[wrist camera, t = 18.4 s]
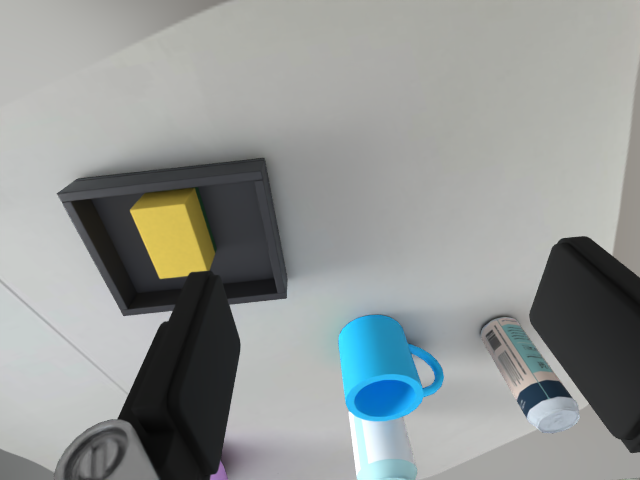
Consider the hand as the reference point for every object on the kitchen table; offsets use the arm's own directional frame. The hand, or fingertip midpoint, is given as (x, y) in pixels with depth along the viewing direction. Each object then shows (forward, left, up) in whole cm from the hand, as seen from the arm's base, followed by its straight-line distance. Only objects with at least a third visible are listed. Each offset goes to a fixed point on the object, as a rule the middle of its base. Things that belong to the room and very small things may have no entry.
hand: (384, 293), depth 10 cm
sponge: (+8, -14, -22) cm, 27 cm away
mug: (+28, +5, -22) cm, 36 cm away
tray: (+10, -14, -22) cm, 28 cm away
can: (+39, +3, -22) cm, 45 cm away
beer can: (+28, +19, -22) cm, 40 cm away
